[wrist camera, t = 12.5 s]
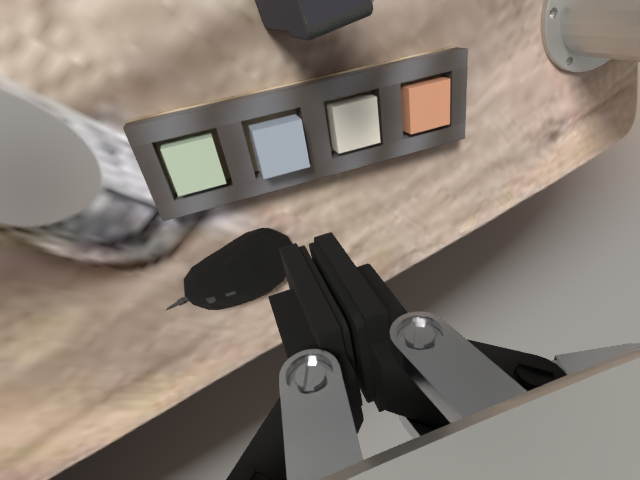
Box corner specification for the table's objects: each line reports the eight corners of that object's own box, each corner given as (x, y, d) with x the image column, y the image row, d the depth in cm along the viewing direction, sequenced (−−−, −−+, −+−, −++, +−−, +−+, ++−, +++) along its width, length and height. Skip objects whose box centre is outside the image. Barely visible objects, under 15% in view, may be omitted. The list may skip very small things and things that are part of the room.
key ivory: (367, 92, 35) (376, 96, 34) (371, 136, 37) (380, 142, 36) (324, 103, 35) (332, 107, 33) (331, 147, 37) (338, 153, 35)
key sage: (210, 130, 33) (212, 137, 31) (224, 175, 35) (226, 183, 33) (161, 142, 32) (160, 149, 30) (178, 187, 34) (178, 196, 33)
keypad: (450, 46, 37) (467, 48, 34) (449, 131, 41) (464, 138, 39) (127, 120, 32) (123, 128, 30) (163, 209, 36) (162, 221, 34)
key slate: (295, 114, 33) (301, 119, 31) (303, 159, 35) (310, 166, 33) (248, 125, 32) (251, 131, 31) (259, 171, 34) (264, 179, 33)
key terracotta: (438, 75, 36) (450, 78, 35) (438, 119, 39) (449, 123, 37) (398, 85, 36) (408, 88, 34) (400, 129, 38) (410, 134, 36)
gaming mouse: (144, 288, 39) (140, 313, 36) (274, 214, 40) (283, 232, 37) (181, 327, 43) (181, 353, 40) (301, 259, 43) (311, 279, 40)
